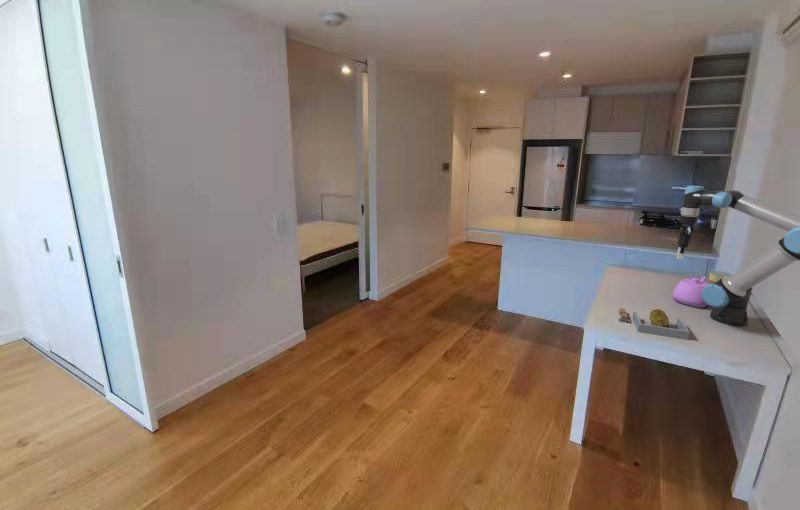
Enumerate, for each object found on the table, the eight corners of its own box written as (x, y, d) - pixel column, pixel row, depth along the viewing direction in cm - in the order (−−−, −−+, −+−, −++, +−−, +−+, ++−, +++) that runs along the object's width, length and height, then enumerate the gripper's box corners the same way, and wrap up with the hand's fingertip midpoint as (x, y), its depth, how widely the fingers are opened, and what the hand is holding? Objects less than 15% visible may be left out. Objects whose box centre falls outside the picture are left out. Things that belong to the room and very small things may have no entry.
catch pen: (678, 325, 190) (680, 318, 189) (688, 339, 176) (689, 332, 175) (632, 318, 198) (633, 311, 197) (637, 331, 183) (639, 324, 182)
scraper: (616, 311, 207) (617, 307, 206) (626, 313, 205) (627, 309, 204) (619, 321, 194) (620, 317, 194) (630, 323, 192) (631, 319, 192)
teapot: (710, 313, 205) (717, 287, 201) (667, 301, 222) (672, 277, 218) (726, 304, 217) (732, 280, 213) (683, 293, 234) (689, 270, 230)
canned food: (719, 288, 243) (724, 271, 240) (733, 295, 233) (737, 276, 229) (701, 287, 245) (705, 270, 241) (713, 294, 234) (718, 275, 231)
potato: (647, 329, 186) (650, 314, 184) (648, 320, 196) (650, 306, 194) (668, 333, 181) (671, 318, 179) (667, 324, 192) (670, 309, 190)
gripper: (677, 213, 204) (668, 255, 210) (683, 216, 193) (674, 260, 199) (693, 214, 201) (684, 256, 208) (701, 217, 190) (691, 262, 196)
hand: (679, 258), depth 203 cm, fingers closed
